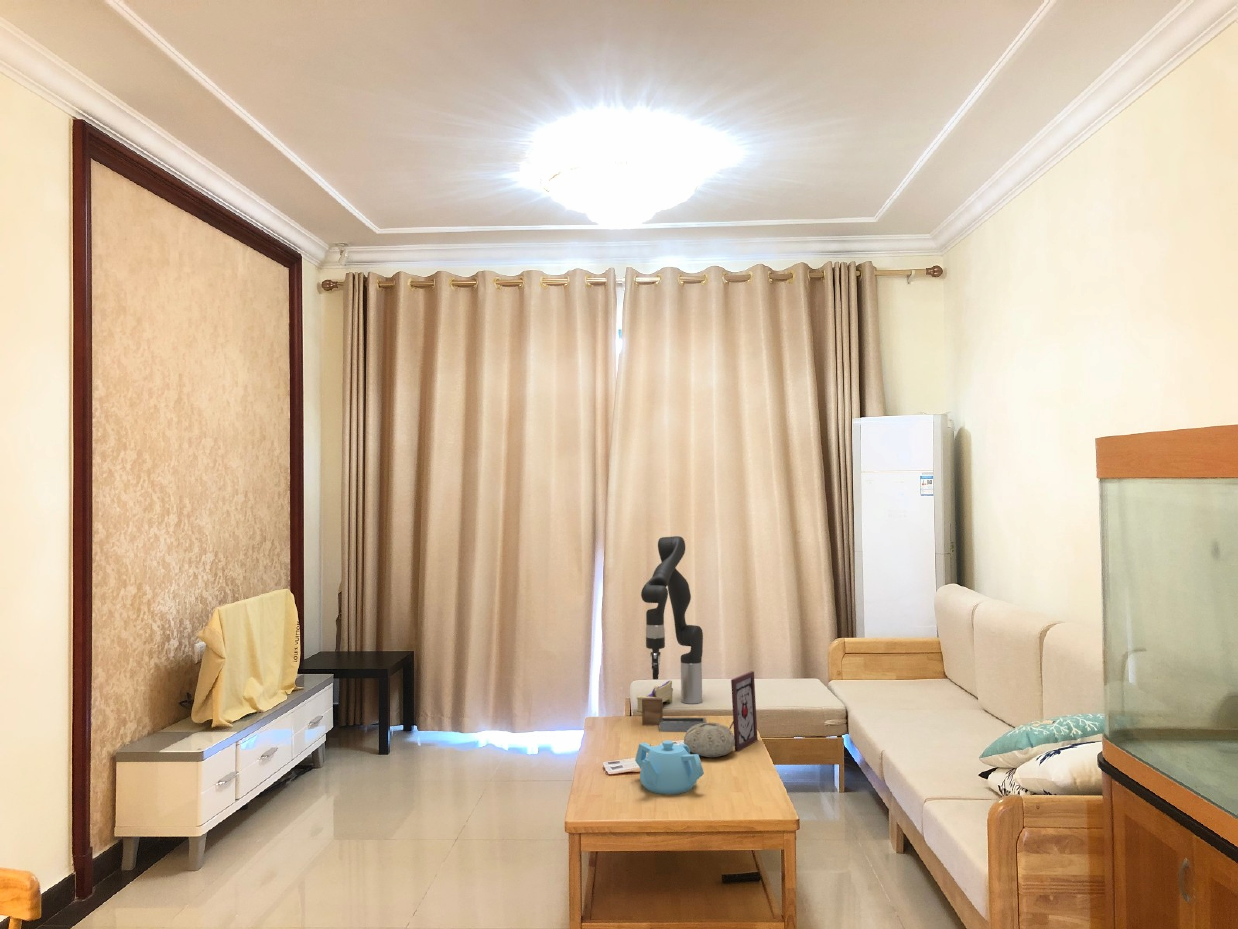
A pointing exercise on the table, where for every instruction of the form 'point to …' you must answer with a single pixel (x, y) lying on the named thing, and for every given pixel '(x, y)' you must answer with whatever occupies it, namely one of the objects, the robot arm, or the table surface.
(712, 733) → the decorative shell
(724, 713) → the table surface
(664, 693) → the toy sofa
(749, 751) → the table surface
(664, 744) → the teapot
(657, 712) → the door panel
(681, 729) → the tray
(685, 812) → the table surface
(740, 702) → the picture frame
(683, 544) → the robot arm
